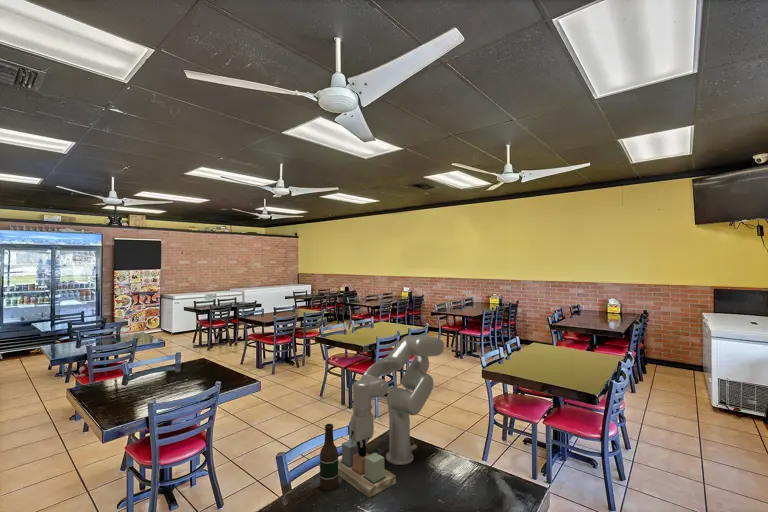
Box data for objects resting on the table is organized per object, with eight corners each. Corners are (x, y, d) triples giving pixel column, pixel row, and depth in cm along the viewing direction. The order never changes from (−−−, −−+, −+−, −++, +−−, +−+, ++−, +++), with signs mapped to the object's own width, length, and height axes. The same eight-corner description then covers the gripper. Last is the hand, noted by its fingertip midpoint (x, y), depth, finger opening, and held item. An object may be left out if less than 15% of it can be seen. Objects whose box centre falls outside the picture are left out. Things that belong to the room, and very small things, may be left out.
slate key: (352, 457, 162) (352, 439, 162) (359, 462, 158) (359, 443, 158) (341, 462, 158) (341, 443, 159) (349, 467, 154) (349, 448, 155)
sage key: (375, 472, 150) (375, 452, 151) (384, 477, 146) (384, 457, 146) (364, 477, 146) (364, 457, 147) (373, 483, 142) (373, 462, 143)
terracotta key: (363, 469, 156) (363, 450, 156) (371, 475, 152) (371, 455, 152) (353, 474, 152) (353, 455, 153) (361, 480, 148) (361, 460, 148)
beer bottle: (334, 492, 141) (335, 429, 142) (316, 490, 143) (316, 428, 144) (341, 481, 149) (341, 421, 150) (323, 479, 150) (323, 420, 151)
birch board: (356, 459, 166) (356, 452, 166) (395, 483, 147) (395, 475, 147) (331, 470, 157) (331, 463, 157) (369, 497, 138) (369, 489, 138)
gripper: (370, 404, 161) (370, 446, 160) (342, 413, 151) (342, 458, 150) (381, 409, 155) (381, 452, 155) (353, 418, 145) (353, 465, 145)
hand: (362, 455), depth 152 cm, fingers closed
